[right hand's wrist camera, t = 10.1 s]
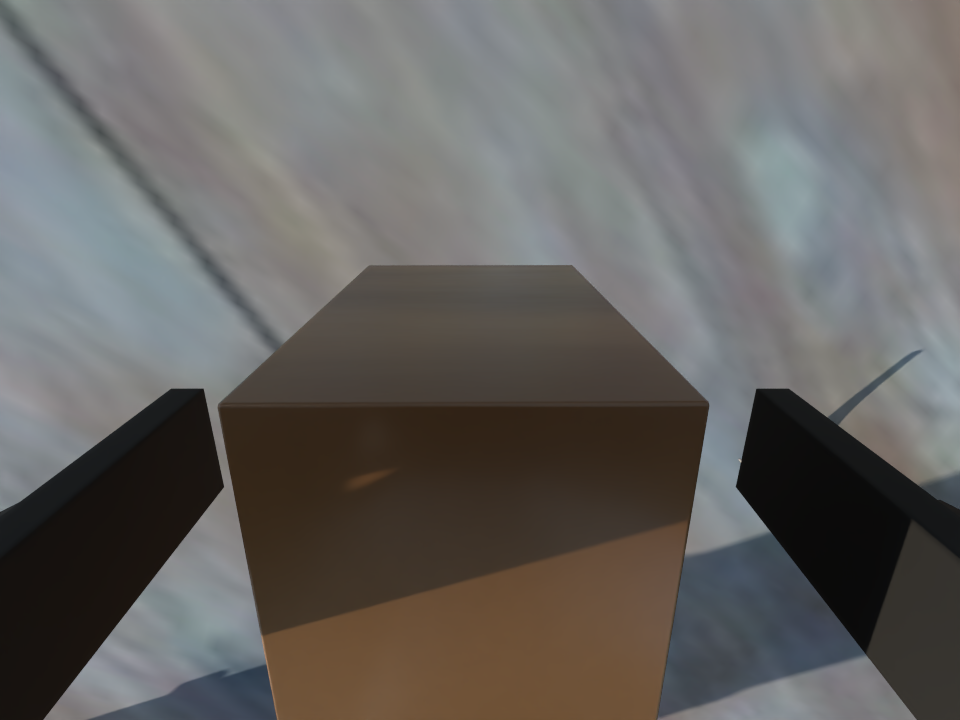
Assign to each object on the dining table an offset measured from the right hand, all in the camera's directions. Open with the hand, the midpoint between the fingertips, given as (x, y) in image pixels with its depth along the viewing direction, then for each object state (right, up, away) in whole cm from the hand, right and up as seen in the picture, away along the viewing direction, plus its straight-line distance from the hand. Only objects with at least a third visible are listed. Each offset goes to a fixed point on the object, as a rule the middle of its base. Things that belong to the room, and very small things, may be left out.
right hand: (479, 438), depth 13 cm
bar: (0, -6, +5) cm, 8 cm away
